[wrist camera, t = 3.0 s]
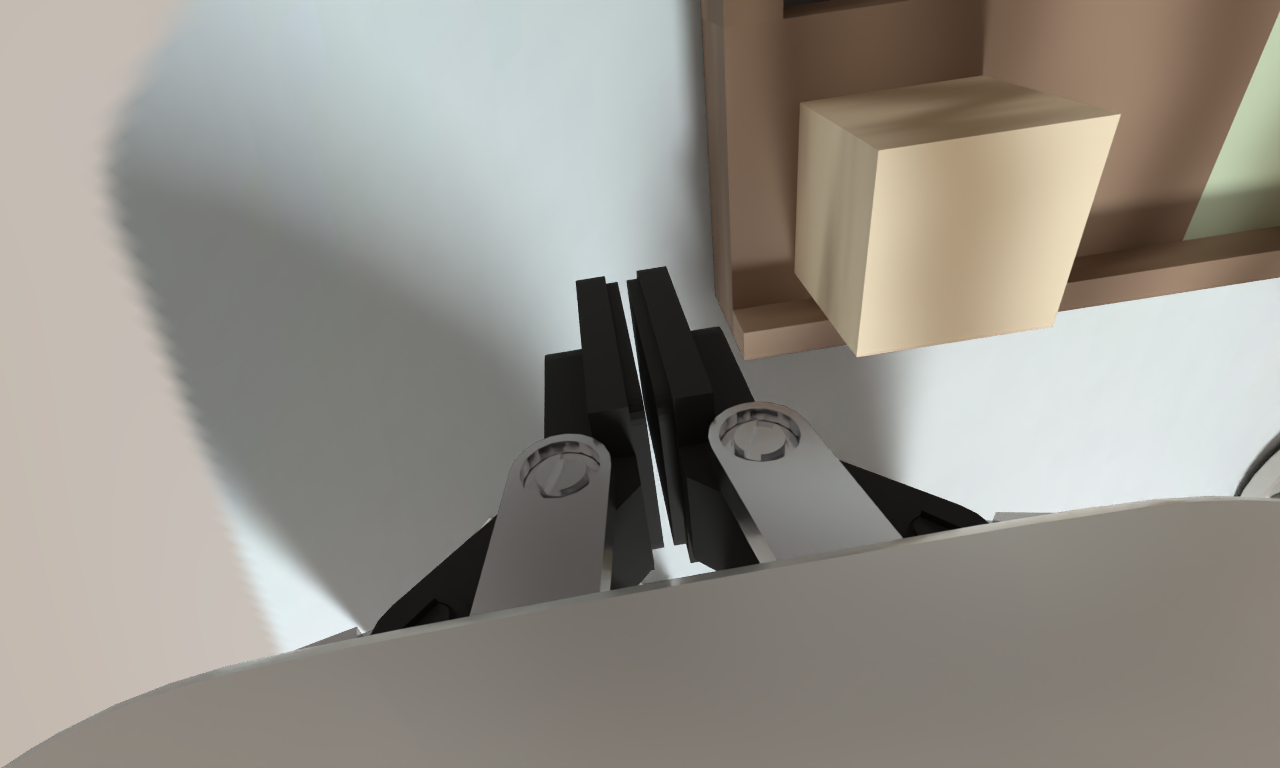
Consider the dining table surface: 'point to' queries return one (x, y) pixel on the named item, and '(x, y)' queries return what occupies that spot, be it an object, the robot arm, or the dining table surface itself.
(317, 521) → the dining table surface
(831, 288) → the maple block
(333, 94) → the dining table surface
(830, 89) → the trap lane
